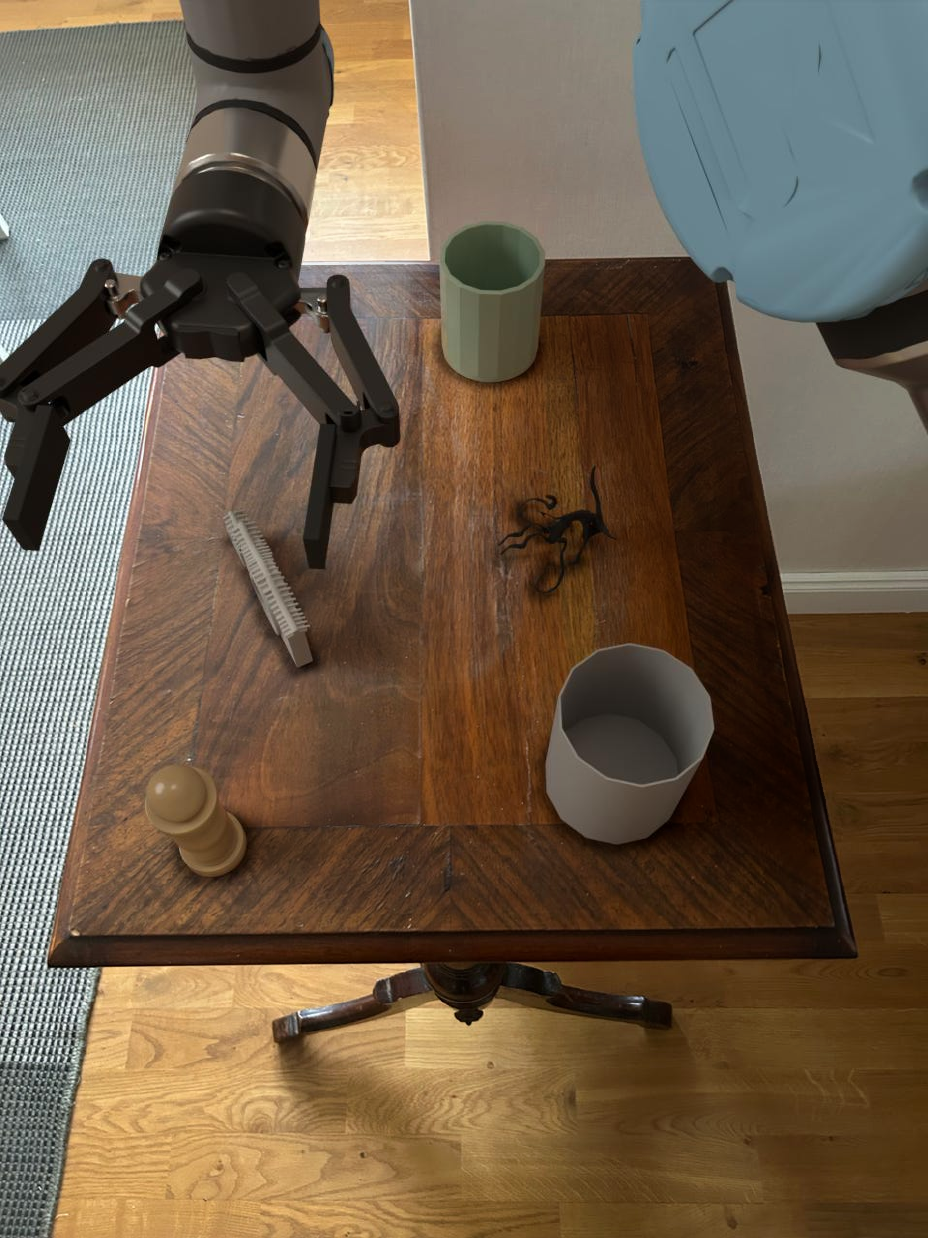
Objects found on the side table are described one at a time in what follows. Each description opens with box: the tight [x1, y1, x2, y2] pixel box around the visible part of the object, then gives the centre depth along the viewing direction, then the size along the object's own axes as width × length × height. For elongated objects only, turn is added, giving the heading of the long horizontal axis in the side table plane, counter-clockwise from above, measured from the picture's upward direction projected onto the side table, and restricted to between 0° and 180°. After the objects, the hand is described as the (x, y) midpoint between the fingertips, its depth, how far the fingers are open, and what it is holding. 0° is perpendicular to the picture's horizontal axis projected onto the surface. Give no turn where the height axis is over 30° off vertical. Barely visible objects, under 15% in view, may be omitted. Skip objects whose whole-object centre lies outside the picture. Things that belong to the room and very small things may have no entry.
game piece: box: [144, 763, 248, 878], centre depth 56 cm, size 4×4×11 cm
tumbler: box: [438, 220, 546, 383], centre depth 77 cm, size 8×8×9 cm
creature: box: [497, 465, 619, 594], centre depth 69 cm, size 8×5×8 cm
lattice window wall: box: [222, 508, 313, 669], centre depth 67 cm, size 12×2×6 cm, turn 28°
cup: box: [545, 642, 715, 845], centre depth 59 cm, size 8×8×10 cm
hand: (167, 546), depth 47 cm, fingers open, 13 cm apart
